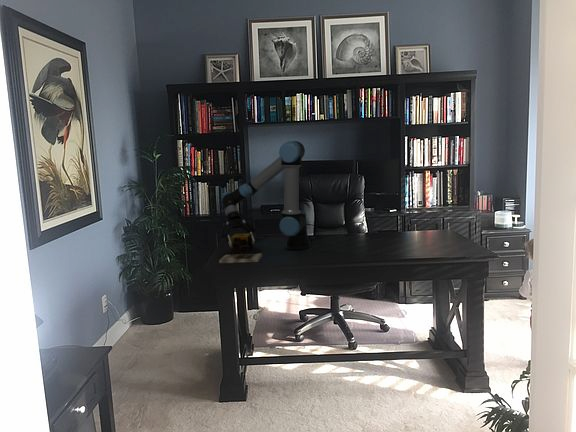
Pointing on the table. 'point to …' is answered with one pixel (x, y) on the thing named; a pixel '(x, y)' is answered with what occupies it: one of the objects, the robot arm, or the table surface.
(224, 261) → the birch board
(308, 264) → the table surface
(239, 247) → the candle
